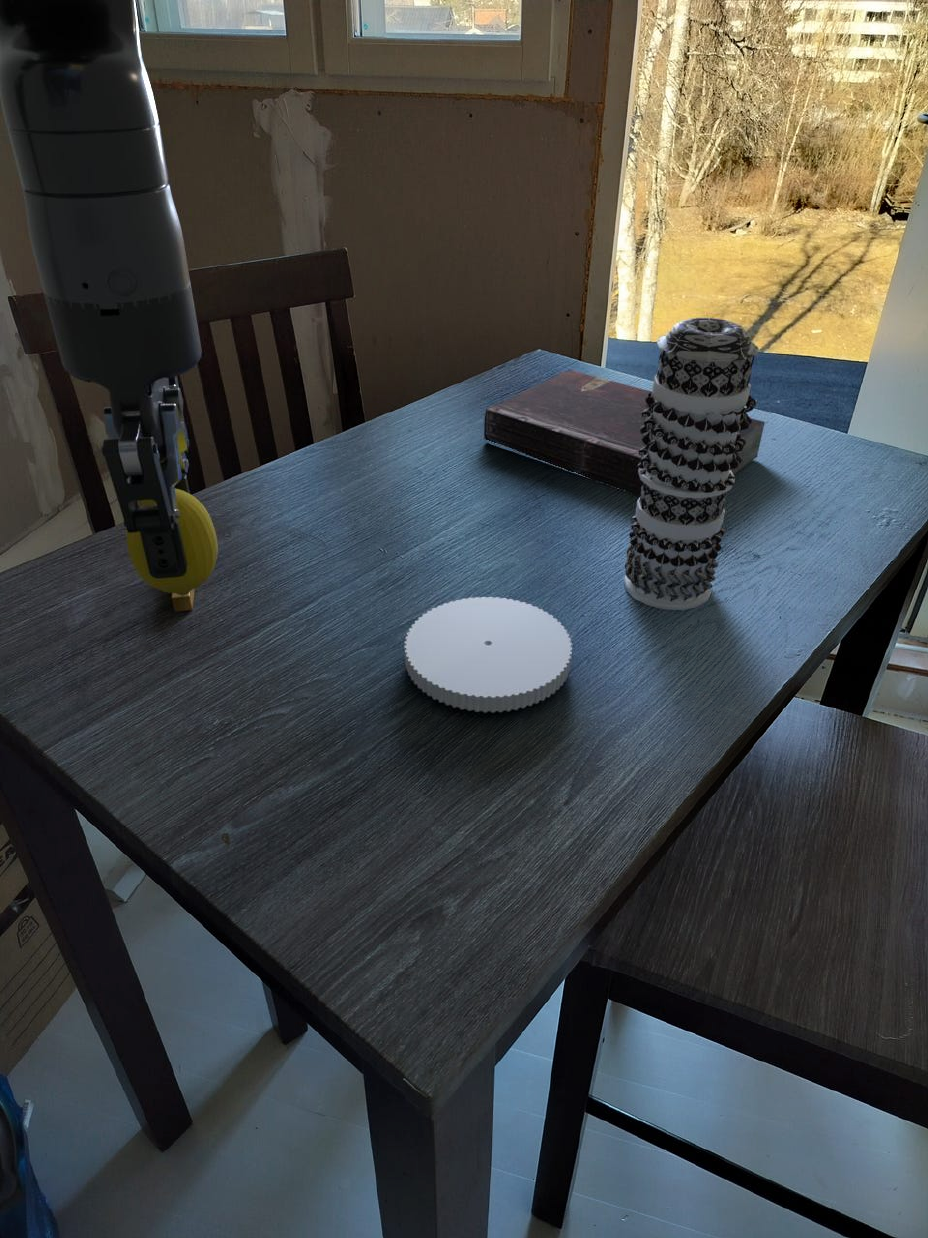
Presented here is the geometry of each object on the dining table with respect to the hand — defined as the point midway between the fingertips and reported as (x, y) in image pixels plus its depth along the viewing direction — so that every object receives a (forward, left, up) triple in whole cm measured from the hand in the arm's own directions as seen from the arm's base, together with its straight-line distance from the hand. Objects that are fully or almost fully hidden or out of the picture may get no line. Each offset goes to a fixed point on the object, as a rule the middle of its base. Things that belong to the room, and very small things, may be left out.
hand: (174, 549), depth 55 cm
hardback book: (+48, +45, -17) cm, 68 cm away
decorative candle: (+42, +14, -17) cm, 48 cm away
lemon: (0, 0, -4) cm, 4 cm away
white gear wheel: (+22, +5, -17) cm, 29 cm away
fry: (-4, +23, -17) cm, 29 cm away
